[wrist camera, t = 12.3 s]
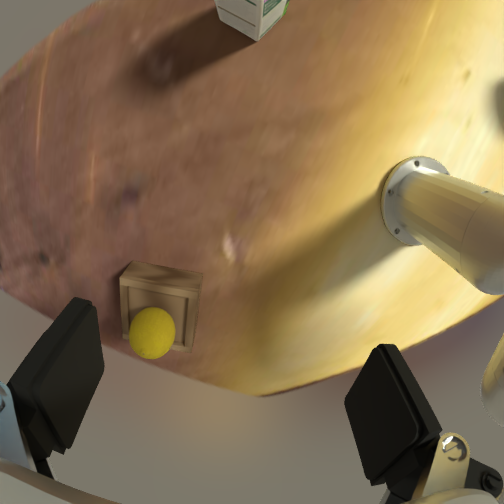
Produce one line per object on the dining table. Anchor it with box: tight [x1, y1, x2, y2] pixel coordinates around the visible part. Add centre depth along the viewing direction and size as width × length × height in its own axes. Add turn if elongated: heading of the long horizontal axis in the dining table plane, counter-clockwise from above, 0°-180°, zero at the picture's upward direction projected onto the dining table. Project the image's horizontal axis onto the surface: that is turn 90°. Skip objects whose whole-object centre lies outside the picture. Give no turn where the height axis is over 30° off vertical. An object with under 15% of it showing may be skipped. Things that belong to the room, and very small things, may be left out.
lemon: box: [129, 307, 175, 359], centre depth 33 cm, size 6×6×8 cm
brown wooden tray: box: [120, 261, 203, 353], centre depth 38 cm, size 10×10×5 cm
